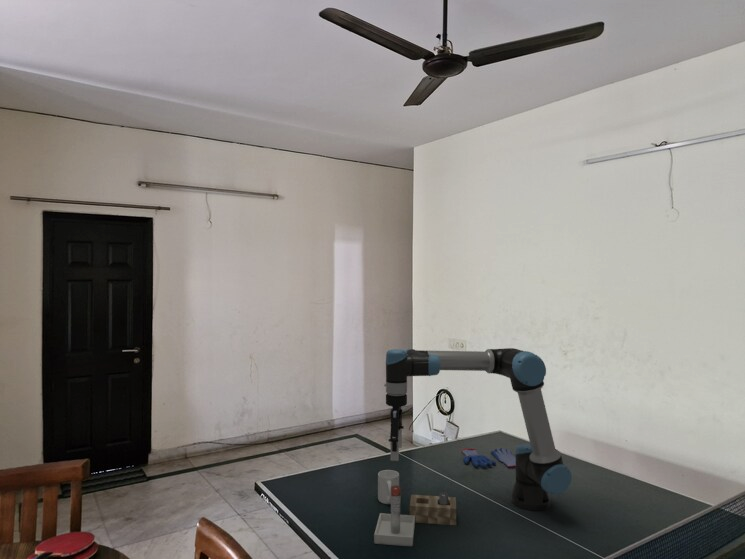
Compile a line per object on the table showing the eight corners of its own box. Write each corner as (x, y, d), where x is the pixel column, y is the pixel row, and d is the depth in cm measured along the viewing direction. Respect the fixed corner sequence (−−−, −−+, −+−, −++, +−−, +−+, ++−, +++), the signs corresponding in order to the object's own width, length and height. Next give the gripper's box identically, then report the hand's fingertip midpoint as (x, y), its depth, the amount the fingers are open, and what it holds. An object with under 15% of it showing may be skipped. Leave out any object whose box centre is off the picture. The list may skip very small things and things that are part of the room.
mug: (378, 508, 194) (378, 481, 194) (377, 495, 206) (377, 469, 206) (400, 508, 194) (400, 481, 194) (397, 495, 206) (398, 469, 206)
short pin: (448, 516, 187) (448, 492, 188) (448, 520, 184) (448, 496, 184) (439, 515, 188) (439, 492, 188) (439, 520, 185) (439, 495, 185)
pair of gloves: (514, 451, 263) (514, 445, 263) (533, 469, 237) (533, 462, 237) (455, 453, 260) (455, 446, 261) (468, 471, 235) (468, 463, 235)
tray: (414, 523, 181) (415, 515, 182) (412, 546, 166) (412, 537, 166) (379, 521, 183) (379, 513, 183) (374, 543, 167) (374, 534, 167)
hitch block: (455, 513, 190) (455, 497, 190) (456, 525, 180) (456, 508, 180) (411, 510, 193) (411, 494, 193) (409, 522, 183) (409, 505, 183)
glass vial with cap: (400, 529, 176) (401, 485, 176) (399, 534, 173) (400, 489, 173) (391, 528, 176) (391, 485, 177) (390, 533, 173) (390, 489, 173)
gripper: (389, 386, 188) (389, 442, 188) (381, 401, 163) (381, 465, 163) (409, 386, 187) (409, 442, 187) (404, 402, 162) (404, 466, 162)
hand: (396, 453), depth 175 cm, fingers open, 13 cm apart
